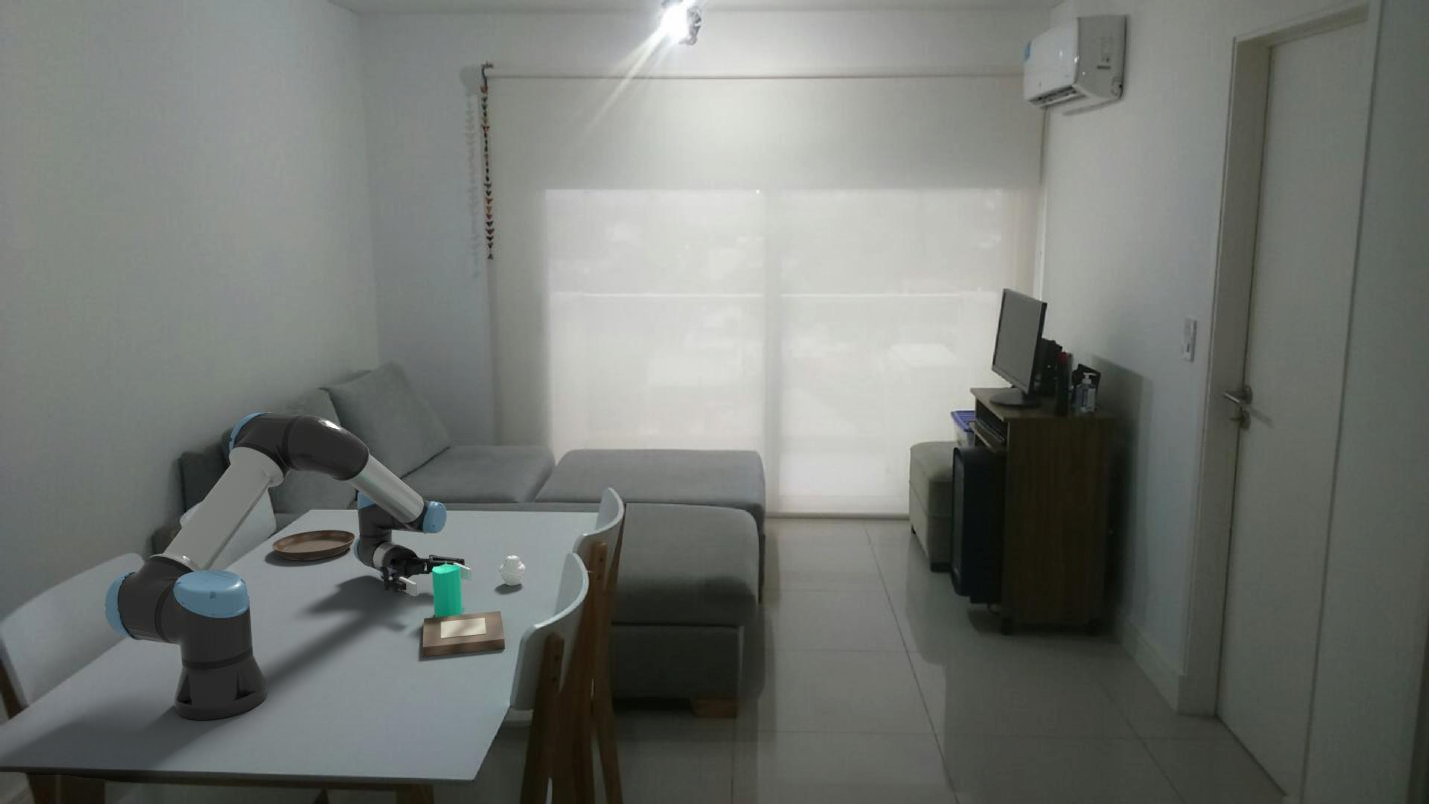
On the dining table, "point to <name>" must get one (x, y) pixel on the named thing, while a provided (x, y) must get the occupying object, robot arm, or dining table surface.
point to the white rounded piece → (512, 570)
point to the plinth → (463, 633)
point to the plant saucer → (313, 544)
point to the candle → (447, 590)
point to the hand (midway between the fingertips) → (443, 582)
